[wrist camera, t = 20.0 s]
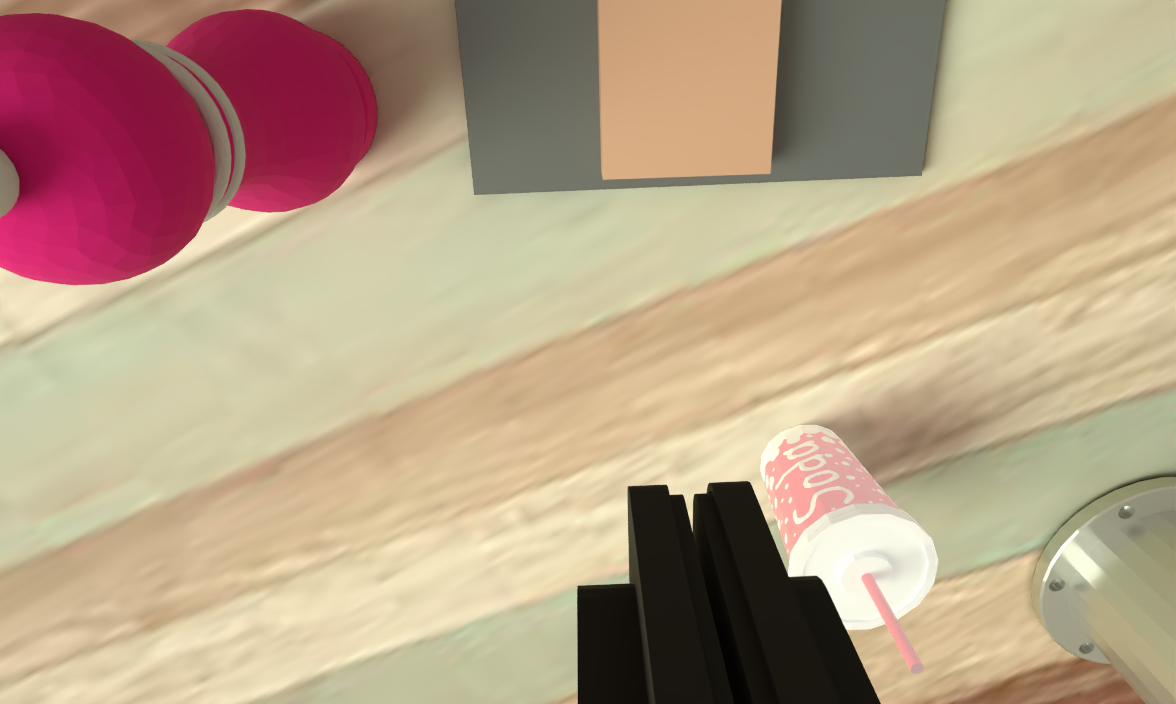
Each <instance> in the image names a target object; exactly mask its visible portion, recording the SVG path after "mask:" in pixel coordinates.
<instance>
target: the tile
mask: <svg viewBox="0 0 1176 704" xmlns="http://www.w3.org/2000/svg"><path fill="white" fill-rule="evenodd" d="M781 1H782V0H597V17H598V58H599V98H600V138H601V173H602V178H603V180H610V179H638V178H666V177H694V176H723V175H751V174H771V158H772V142H773V127H774V111H775V95H776V80H777V64H778V48H779V32H780V17H781Z"/></svg>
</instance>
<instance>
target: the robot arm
mask: <svg viewBox="0 0 1176 704" xmlns="http://www.w3.org/2000/svg"><path fill="white" fill-rule="evenodd" d="M628 536H629V581H630V584H610V585H587V586H578V589H577V618H578V704H881V703H880V701H879V699H878V697H877V695H876V693H875V690H874V688H873V686H872V684H871V682H870V680H869V678H868V675H867V673H866V671H865V669H864V667H863V665H862V663H861V660H860V658H859V656H858V654H857V652H856V650H855V648H854V645H853V643H852V641H851V639H850V637H849V635H848V633H847V630H846V628H845V626H844V624H843V622H842V620H841V618H840V615H839V613H838V611H837V609H836V607H835V605H834V603H833V600H832V598H831V596H830V594H829V592H828V590H827V588H826V586H825V584H824V583H823V581H822V579H821V578H819V577H818V576H795V577H788V574H787V572H786V569H785V567H784V564H783V562H782V559H781V557H780V554H779V552H778V549H777V547H776V544H775V542H774V539H773V537H772V535H771V532H770V530H769V527H768V525H767V522H766V520H765V517H764V515H763V512H762V510H761V507H760V505H759V502H758V500H757V497H756V495H755V493H754V490H753V488H752V485H751V484H750V482H748V481H741V482H718V483H709V484H708V488H707V493H706V494H695V495H694V499H693V532H692V528H691V524H690V520H689V516H688V512H687V508H686V503H685V499H684V496H683V495H669V490H668V486H667V485H648V486H628ZM1031 597H1032V602H1033V607H1034V611H1035V613H1036V615H1037V617H1038V619H1039V621H1040V623H1041V625H1042V626H1043V627H1044V628H1045V630H1046V631H1047V632H1048V633H1049V635H1050V636H1051V637H1052V638H1053V640H1054V641H1055V642H1057V643H1058V644H1059V645H1060V646H1061V647H1062V648H1064V649H1065V650H1066V651H1068V652H1070V653H1072V654H1073V655H1075V656H1077V657H1079V658H1083V659H1086V660H1090V661H1093V662H1097V663H1105V664H1112V666H1113V667H1114V668H1115V669H1116V670H1117V671H1118V673H1119V674H1120V675H1121V676H1122V677H1123V678H1124V679H1125V681H1126V682H1127V683H1128V684H1129V685H1130V686H1131V687H1132V689H1133V690H1134V691H1135V692H1136V693H1137V694H1138V695H1139V697H1140V698H1141V699H1142V700H1143V701H1144V702H1145V703H1146V704H1176V477H1161V478H1156V479H1151V480H1146V481H1141V482H1137V483H1134V484H1131V485H1129V486H1126V487H1123V488H1120V489H1117V490H1115V491H1113V492H1111V493H1109V494H1107V495H1105V496H1103V497H1101V498H1099V499H1097V500H1095V501H1094V502H1092V503H1091V504H1089V505H1088V506H1086V507H1085V508H1084V509H1082V510H1081V511H1079V512H1078V513H1076V514H1075V515H1074V516H1073V517H1072V518H1071V519H1070V520H1069V521H1068V522H1067V523H1066V524H1064V525H1063V526H1062V527H1061V528H1060V529H1059V531H1058V532H1057V533H1056V534H1055V536H1054V537H1053V538H1052V539H1051V541H1050V542H1049V543H1048V544H1047V546H1046V548H1045V550H1044V552H1043V553H1042V555H1041V557H1040V559H1039V561H1038V563H1037V566H1036V569H1035V573H1034V576H1033V579H1032V593H1031Z"/></svg>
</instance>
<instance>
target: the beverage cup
mask: <svg viewBox="0 0 1176 704" xmlns="http://www.w3.org/2000/svg"><path fill="white" fill-rule="evenodd" d="M760 471H761V474H762V477H763V480H764V483H765V486H766V489H767V492H768V495H769V499H770V502H771V505H772V508H773V511H774V514H775V517H776V520H777V523H778V527H779V530H780V533H781V536H782V539H783V542H784V545H785V548H786V551H787V555H788V558H789V570H788V576H789V577H795V576H818V577H819V578H821V579H822V581H823V583H824V584H825V586H826V588H827V590H828V592H829V594H830V596H831V598H832V600H833V603H834V605H835V607H836V609H837V611H838V613H839V615H840V618H841V620H842V622H843V624H844V626H845V628H846V630H855V629H872V628H875V627H878V626H881V625H884V624H886V626H887V628H888V630H889V631H890V633H891V635H892V637H893V639H894V641H895V643H896V644H897V646H898V648H899V650H900V652H901V654H902V656H903V657H904V659H905V661H906V663H907V665H908V667H909V669H910V670H911V672H912V673H920V672H921V671H922V670H923V669H924V666H923V664H922V663H921V661H920V659H919V657H918V655H917V654H916V652H915V650H914V648H913V647H912V645H911V643H910V641H909V640H908V638H907V636H906V634H905V632H904V631H903V629H902V627H901V625H900V624H899V622H898V619H899V618H900V617H902V616H903V615H905V614H906V613H908V612H909V611H910V610H912V609H913V608H915V607H916V606H917V605H919V604H920V602H921V601H922V599H923V598H924V597H925V595H926V594H927V592H928V591H929V590H930V588H931V587H932V585H933V584H934V580H935V575H936V571H937V566H938V557H937V554H936V551H935V547H934V544H933V541H932V539H931V537H930V536H929V535H928V534H927V533H926V532H925V531H924V530H923V528H922V527H921V526H920V525H919V524H918V523H917V522H916V521H915V520H914V519H913V518H912V517H911V516H910V515H909V514H908V513H907V512H905V511H902V510H900V509H899V508H898V507H897V506H896V504H895V503H894V502H893V501H892V500H891V498H890V497H889V496H888V495H887V494H886V493H885V491H884V490H883V489H882V488H881V487H880V485H879V484H878V483H877V482H876V481H875V479H874V478H873V477H872V476H871V475H870V473H869V472H868V471H867V470H866V469H865V468H864V466H863V465H862V464H861V463H860V462H859V460H858V459H857V458H856V457H855V456H854V454H853V453H852V452H851V451H850V450H849V449H848V447H847V446H846V445H845V444H844V443H843V441H842V440H841V439H840V438H839V437H838V436H837V435H836V434H835V433H834V432H833V431H832V430H830V429H827V428H824V427H821V426H819V425H797V426H795V427H792V428H789V429H787V430H784V431H782V432H781V433H779V434H778V435H777V436H776V437H775V438H773V439H772V440H771V441H770V442H769V443H768V445H767V447H766V449H765V451H764V452H763V454H762V457H761V469H760Z"/></svg>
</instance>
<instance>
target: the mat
mask: <svg viewBox="0 0 1176 704" xmlns="http://www.w3.org/2000/svg"><path fill="white" fill-rule="evenodd" d="M455 6H456V16H457V26H458V36H459V46H460V56H461V66H462V76H463V86H464V96H465V106H466V116H467V127H468V137H469V147H470V157H471V167H472V177H473V187H474V195H483V194H506V193H529V192H553V191H576V190H599V189H622V188H645V187H669V186H692V185H715V184H738V183H761V182H784V181H808V180H831V179H854V178H877V177H900V176H922V170H923V162H924V155H925V147H926V140H927V133H928V125H929V118H930V111H931V103H932V96H933V88H934V81H935V74H936V66H937V59H938V52H939V44H940V37H941V29H942V22H943V15H944V7H945V0H782V1H781V17H780V32H779V48H778V64H777V80H776V95H775V111H774V127H773V142H772V158H771V174H751V175H723V176H694V177H666V178H638V179H610V180H603V178H602V173H601V138H600V98H599V58H598V17H597V0H455Z"/></svg>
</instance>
